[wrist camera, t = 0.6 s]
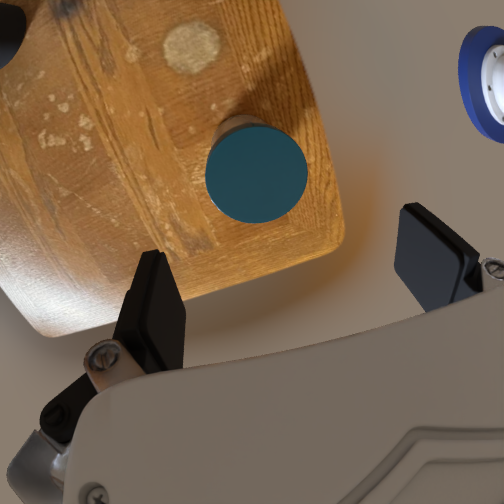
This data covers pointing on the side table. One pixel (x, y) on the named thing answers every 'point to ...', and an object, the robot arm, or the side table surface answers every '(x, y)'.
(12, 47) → the mug
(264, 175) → the jar lid
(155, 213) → the side table surface
